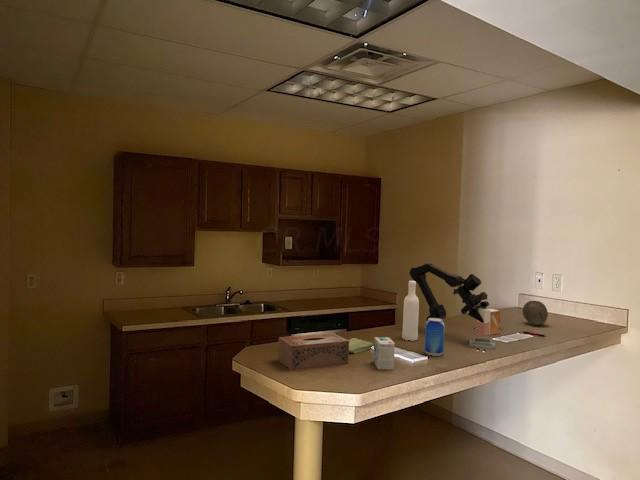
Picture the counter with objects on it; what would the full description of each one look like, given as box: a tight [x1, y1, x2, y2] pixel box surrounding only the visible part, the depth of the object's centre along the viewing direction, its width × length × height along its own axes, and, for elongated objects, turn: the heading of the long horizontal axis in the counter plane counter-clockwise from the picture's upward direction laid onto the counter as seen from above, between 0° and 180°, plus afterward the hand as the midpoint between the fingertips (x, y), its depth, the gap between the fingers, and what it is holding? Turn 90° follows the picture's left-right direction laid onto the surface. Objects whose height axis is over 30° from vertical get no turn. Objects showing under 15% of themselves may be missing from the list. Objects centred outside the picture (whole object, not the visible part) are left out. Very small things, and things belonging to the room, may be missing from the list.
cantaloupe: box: [522, 300, 549, 327], centre depth 282 cm, size 14×14×15 cm
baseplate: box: [468, 337, 496, 350], centre depth 231 cm, size 12×12×2 cm
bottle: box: [401, 280, 420, 342], centre depth 237 cm, size 8×8×30 cm
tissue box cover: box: [277, 332, 350, 371], centre depth 194 cm, size 26×14×10 cm, turn 115°
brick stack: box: [475, 308, 490, 337], centre depth 230 cm, size 4×4×12 cm
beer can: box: [424, 318, 446, 357], centre depth 212 cm, size 8×8×16 cm
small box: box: [488, 308, 501, 336], centre depth 257 cm, size 8×6×13 cm
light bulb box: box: [372, 336, 396, 371], centre depth 192 cm, size 11×7×11 cm, turn 5°
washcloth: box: [347, 337, 374, 355], centre depth 217 cm, size 13×18×3 cm
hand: (485, 321), depth 229 cm, fingers closed on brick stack, 4 cm apart
